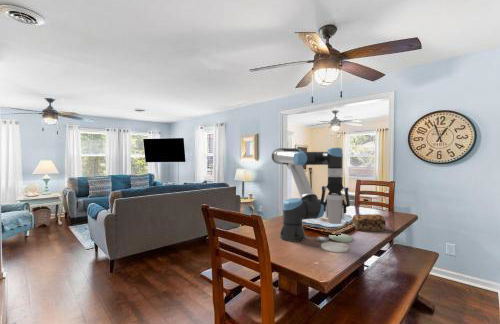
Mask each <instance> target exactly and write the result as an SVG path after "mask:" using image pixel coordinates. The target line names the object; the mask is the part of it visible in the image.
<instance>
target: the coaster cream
mask: <svg viewBox="0 0 500 324" xmlns="http://www.w3.org/2000/svg"><path fill="white" fill-rule="evenodd" d="M320 245H321V247H320V248H321V249H323V250H324V251H326V252H330V253H339V254H341V253H342V254H343V253H346V252H349V246H348V245H347V244H345V243H343V242H337V241H328V242H322V243H321V244H320Z"/></svg>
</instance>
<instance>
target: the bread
mask: <svg viewBox="0 0 500 324" xmlns="http://www.w3.org/2000/svg"><path fill="white" fill-rule="evenodd" d="M353 223H354V224H355V228H354V229H355V230H356V231H361V232H362V231H363V232H370V231H371V232H384V231H386V225H387V224H386V220H385V218H384V216H383V215H381V214H379V213H378V214H377V213H376V214H375V213H374V214H371V213H370V214H369V213H368V214H354V215H353V216H352V224H353Z"/></svg>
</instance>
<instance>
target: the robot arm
mask: <svg viewBox="0 0 500 324" xmlns="http://www.w3.org/2000/svg"><path fill="white" fill-rule="evenodd" d="M343 154H344V153H343V148H342V147H328V148H327V151H303V150H302V149H300V148H296V147H293V148H292V147H291V148H287V147H285V148H284V147H282V148H276V149H274V150H273V151H272V153H271V160H272V161H273V163H275V164H277V165H286V167H287V169H288V170H290V172H291V175H292V177H293V180H294V183H295V186H296V188H297V191H298V194H299V198H298V197H296V198H294V197H293V198H288V199H285V200H284V201H283V203H282V225H281V229H280V232H279V237H280V239H282V240H284V241H289V242H301V241H304V240H306V234H305V228H304V227H303V221H304V220H312V219H313V220H316V219H320V218H322V217H323V216H324V214H325V219H328V209H327V199H326V191H327V190H328V192H327V193H328V195H331V194H338V195H339V196H340V195H343V194H342V190H343V191H344V196H345V197H344V198H345V199H344V200H343V201H342V205H343V207H342V220H341V221H344V220H345V214H346V213H347V208H348V207H350V206H351V202H350V195H349V187H348V186H346V187H345V186H344V185H343ZM303 166H327V185H325V186H324V185H323V186H321V199H320V198H318V195H317V194H315V193H314V192H313V191H314V190H313V189H312V187H311V184H310V181H309V180H308V177H307V173H306V172H305V169H304V167H303Z"/></svg>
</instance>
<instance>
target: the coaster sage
mask: <svg viewBox="0 0 500 324" xmlns="http://www.w3.org/2000/svg"><path fill="white" fill-rule="evenodd" d="M340 234H341V235H338V236H336V235H330V234H329V235H328V238H330V239H329V240H331V241H333V242H338V243H350V242H351V243H352V242H353V241H354V237H353V236H351V235H350V234H346V233H340Z"/></svg>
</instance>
